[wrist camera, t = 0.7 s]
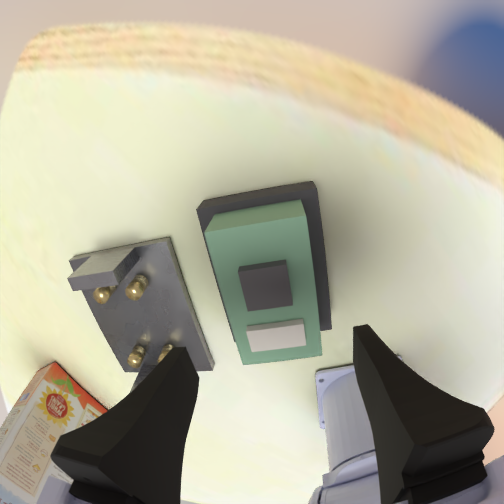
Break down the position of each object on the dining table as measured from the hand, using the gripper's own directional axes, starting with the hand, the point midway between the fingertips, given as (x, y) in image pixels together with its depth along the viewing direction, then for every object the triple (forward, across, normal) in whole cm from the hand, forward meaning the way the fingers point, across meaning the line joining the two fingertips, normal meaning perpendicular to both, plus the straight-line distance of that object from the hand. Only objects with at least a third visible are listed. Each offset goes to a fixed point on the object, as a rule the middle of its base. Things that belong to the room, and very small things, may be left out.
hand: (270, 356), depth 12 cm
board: (+7, 0, 0) cm, 7 cm away
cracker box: (+10, +26, +16) cm, 32 cm away
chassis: (+9, +11, +3) cm, 15 cm away
